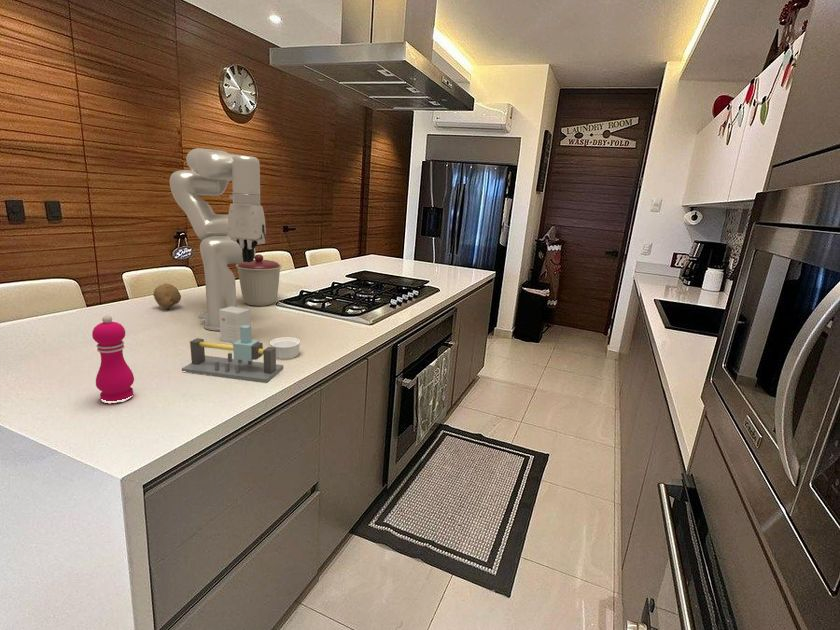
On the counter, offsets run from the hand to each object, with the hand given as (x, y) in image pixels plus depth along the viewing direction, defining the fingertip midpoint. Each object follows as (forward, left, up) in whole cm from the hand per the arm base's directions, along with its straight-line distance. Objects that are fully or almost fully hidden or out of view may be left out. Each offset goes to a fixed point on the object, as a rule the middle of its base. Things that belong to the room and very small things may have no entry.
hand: (248, 261), depth 134 cm
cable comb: (+6, -21, -27) cm, 34 cm away
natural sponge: (-48, +25, -27) cm, 60 cm away
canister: (-21, +46, -27) cm, 57 cm away
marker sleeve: (+10, -21, -22) cm, 32 cm away
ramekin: (+14, -6, -27) cm, 31 cm away
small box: (-6, +1, -27) cm, 28 cm away
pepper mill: (-10, -43, -27) cm, 52 cm away
